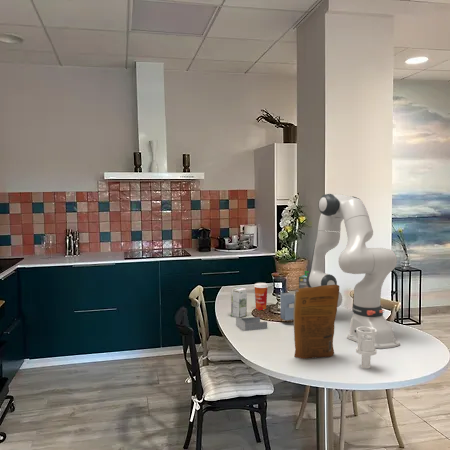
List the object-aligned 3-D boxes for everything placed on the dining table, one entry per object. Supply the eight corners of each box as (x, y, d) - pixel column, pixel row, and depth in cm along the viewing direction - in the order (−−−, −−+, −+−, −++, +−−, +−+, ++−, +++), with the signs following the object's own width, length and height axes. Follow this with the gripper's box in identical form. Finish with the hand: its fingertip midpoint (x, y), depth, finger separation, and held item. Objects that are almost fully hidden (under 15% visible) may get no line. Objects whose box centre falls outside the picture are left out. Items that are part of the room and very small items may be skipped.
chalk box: (318, 294, 276) (318, 270, 275) (311, 296, 269) (311, 272, 268) (305, 292, 282) (306, 269, 281) (298, 294, 275) (298, 271, 274)
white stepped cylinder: (365, 372, 154) (366, 330, 153) (351, 365, 160) (352, 325, 159) (380, 368, 157) (381, 327, 156) (366, 362, 163) (366, 322, 162)
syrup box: (238, 314, 230) (238, 286, 229) (247, 316, 226) (246, 288, 225) (231, 316, 226) (230, 288, 225) (239, 318, 222) (239, 290, 221)
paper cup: (251, 309, 240) (251, 284, 239) (259, 306, 245) (259, 282, 244) (262, 311, 234) (262, 286, 233) (271, 309, 240) (271, 283, 239)
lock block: (295, 319, 212) (295, 294, 211) (285, 320, 210) (284, 295, 209) (290, 316, 216) (290, 292, 216) (280, 317, 215) (280, 293, 214)
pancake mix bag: (342, 357, 168) (343, 285, 166) (295, 361, 164) (295, 287, 162) (335, 351, 174) (335, 282, 172) (289, 355, 171) (289, 284, 169)
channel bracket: (259, 322, 215) (259, 314, 214) (267, 328, 205) (267, 320, 205) (236, 324, 211) (236, 316, 211) (243, 331, 202) (243, 322, 201)
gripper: (301, 291, 226) (276, 293, 222) (321, 299, 207) (295, 302, 203) (301, 303, 227) (276, 306, 222) (321, 313, 207) (295, 315, 203)
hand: (285, 304), depth 212 cm, fingers closed on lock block, 5 cm apart
